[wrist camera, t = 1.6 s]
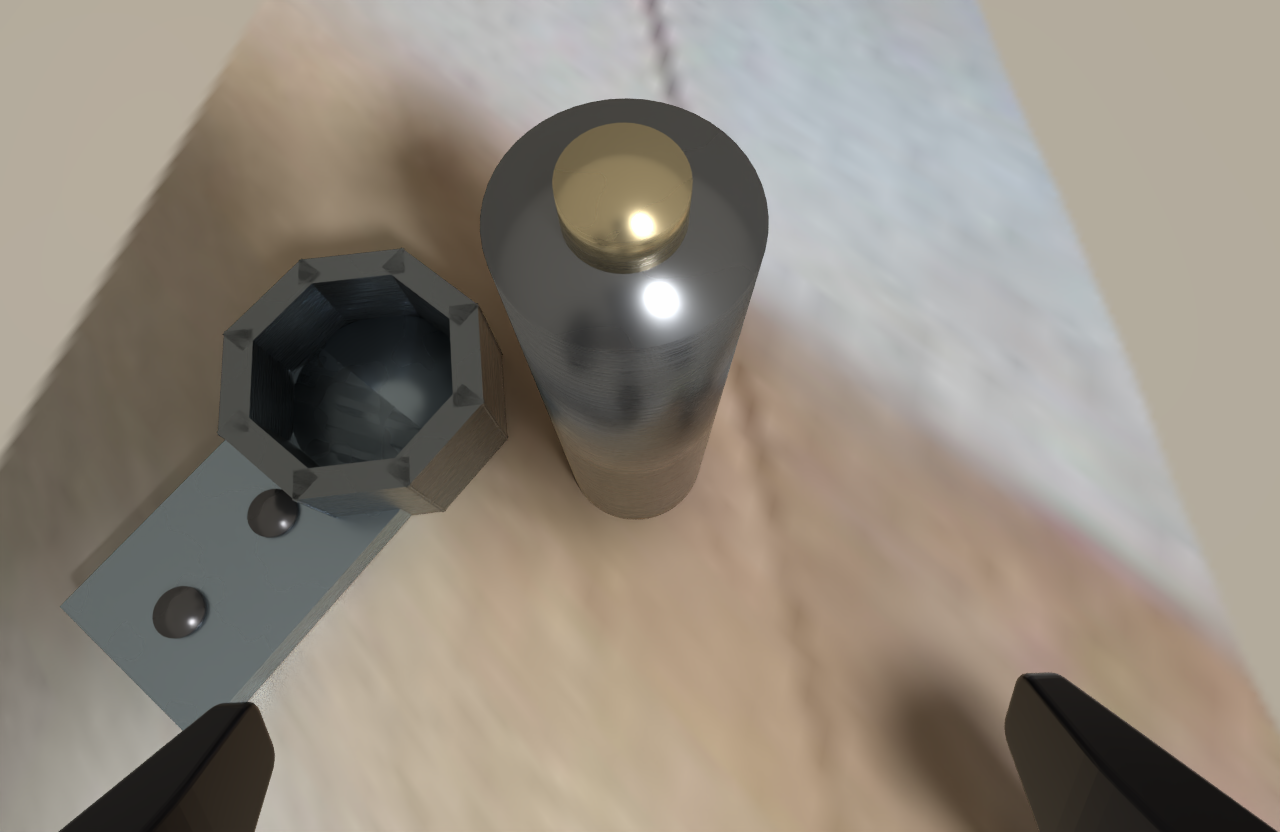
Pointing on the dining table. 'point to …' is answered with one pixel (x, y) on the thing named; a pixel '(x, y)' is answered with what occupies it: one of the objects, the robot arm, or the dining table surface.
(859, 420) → the dining table surface
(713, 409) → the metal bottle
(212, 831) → the robot arm
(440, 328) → the hinge leaf
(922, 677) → the dining table surface
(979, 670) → the dining table surface
